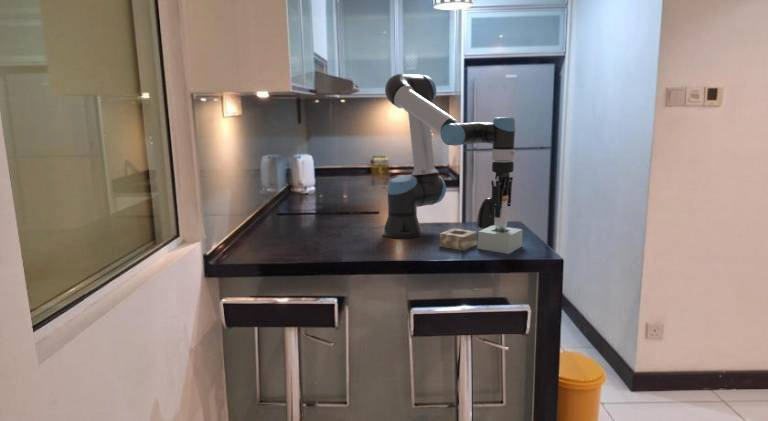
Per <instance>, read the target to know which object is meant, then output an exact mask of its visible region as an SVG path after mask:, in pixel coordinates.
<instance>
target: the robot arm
mask: <svg viewBox="0 0 768 421" xmlns="http://www.w3.org/2000/svg"><path fill="white" fill-rule="evenodd" d="M384 92H385V96H386V99H387V100H388V101H389V102H390V103H391V104H392V105H394V107H396V108H398V109H403V110H404V111H405V112H407V113H408V114H407V115H408V122H409V132H410V133H409V134H410V141H411V142H410V144H411V152H412V159H413V160H412V161H413V172H412V173H411V174H410V175H405V176H404V175H403V176H397V177H393V178H391V179H390V180H389V181H388V182H387V213H388V214H387V220H386V221H385V225H384V228H383V235H384V236H385V237H387V238H390V239H397V240H398V239H405V240H406V239H415V238H418V237H420V236H421V235H422V229H421V226H420V222H419V220H418V216H417V215H418V214H417V213H418V212H417V210H418V208H419V207H426V206H432V205H435V204H438V203H440V202H441V201H442V200H443V199H444V197H445V196H446V193H447V186H446V182H445V180H444V178H442V177H441V176H440V173H439V172H440V171H439V170H438V169H437V168H436V167H435V161H434V149H433V148H434V147H433V139H432V138H433V137H432V130H434V131H435V132H437V134H439V135H440V138H441V140H442V142H443V144H445V145H447V146H453V147H454V146H461V145H472V144H473V145H475V144H490V145H491V144H492V153H491V154H492V155H491V158H492V159H491V160H492V162H491V171H492V172H493V173H495V177H494V180H491V198H492V208H495V219H494V226H500V227H502V215H503V209H502V199H503V195H508V200H507V222H508V219H509V218H508V214H509V213H508V212H509V207H511V205H512V204H511V203H512V188H513V187H512V186H513V180H514V179H513V178H514V177H513V176H510V173H513V172H514V170H515V168H514V164H515V162H514V159H515V154H516V152H515V136H516V121H515V118H514V117H512V116H499V117H497V116H495V117H494V118H493V121H492V122H483V121H481V122H480V121H474V122H473V121H472V122H464V123H463V122H461V121H459V120H458V119H456V118H454V117H453V116H451V115H450V114H449V113H447V112H446V111H444V110H442V109H441V108H439V107H438V106H436V105H435V104H434V103H432V102H433V101H434V100H435V97H436V96H437V87H436V83H435V81H434V80H433V79H432V78H431V77H430V76H428V75H426V74H425V75H423V74H419V73H418V74H410V73H408V74H406V73H398V74H395V75H393V76H391V77H390V78H389V79H388V80H387V82H386V84H385V88H384ZM431 129H432V130H431Z"/></svg>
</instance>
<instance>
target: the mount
mask: <svg viewBox="0 0 768 421" xmlns="http://www.w3.org/2000/svg"><path fill="white" fill-rule="evenodd" d="M439 235H440V236H439V238H440V240H439V241H440V242H439V246H440V247H442V248H447V249H453V250H457V251H466V250H468V249H470V248H472V247H475V246H478V231H477V230H476V231H475V230H467V229H460V228H451V229H447V230H446V231H443V232H440V234H439Z"/></svg>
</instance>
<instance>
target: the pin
mask: <svg viewBox="0 0 768 421" xmlns="http://www.w3.org/2000/svg"><path fill="white" fill-rule="evenodd" d="M507 200H508V195H503V199H502V209H503V215H502V227H500V226H495V232H501V233H505V232H506V228H507V225H508V221H507Z"/></svg>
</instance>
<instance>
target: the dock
mask: <svg viewBox="0 0 768 421" xmlns="http://www.w3.org/2000/svg"><path fill="white" fill-rule="evenodd" d="M523 231H524V230H523V229H522V228H514V227H509V226H508V227H507V228H506V232H505V233H501V232H495V226H494V225H492V226H490V227H488V228H485V229H483V230H481V231H478V230H477V249H478V250H483V251H488V252H489V251H490V252H493V253H495V252H496V253H502V254H507V255H509V254H511V253H513V252H514V251H516V250H518V249H520V248H521V247H522V245H523Z"/></svg>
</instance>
